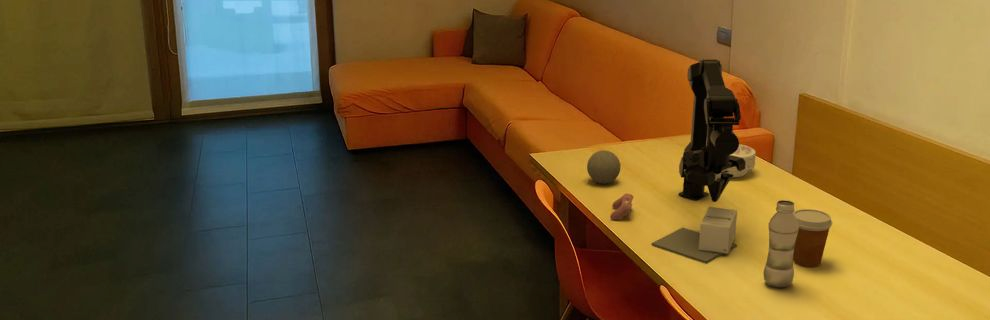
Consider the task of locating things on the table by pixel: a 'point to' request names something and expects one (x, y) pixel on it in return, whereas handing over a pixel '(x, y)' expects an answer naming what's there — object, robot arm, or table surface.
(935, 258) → the table surface
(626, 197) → the video game controller
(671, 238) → the mat
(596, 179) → the decorative ball
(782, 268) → the plastic bottle
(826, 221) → the disposable coffee cup
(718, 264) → the table surface
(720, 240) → the supplement box
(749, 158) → the paper bowls
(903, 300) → the table surface
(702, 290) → the table surface
